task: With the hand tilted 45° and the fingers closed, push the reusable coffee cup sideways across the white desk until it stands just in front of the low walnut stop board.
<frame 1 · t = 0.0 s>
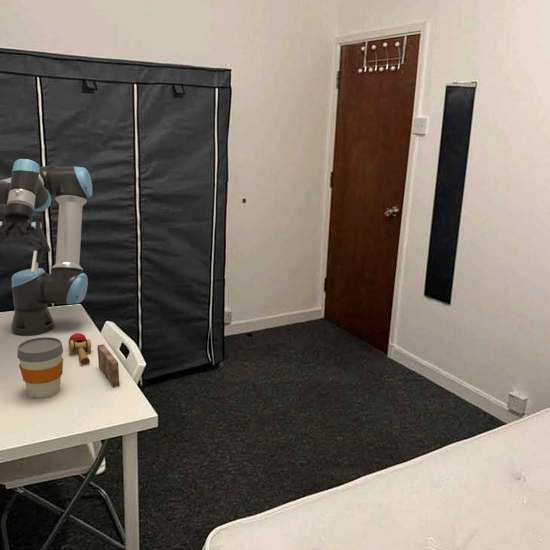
hand: (9, 273, 159), 36 cm above the table, tool tilted 35°, fingers open, 13 cm apart
stop board: (108, 376, 176), on the table
kendama: (81, 356, 191), on the table
reusable coffee cup: (44, 391, 166), on the table
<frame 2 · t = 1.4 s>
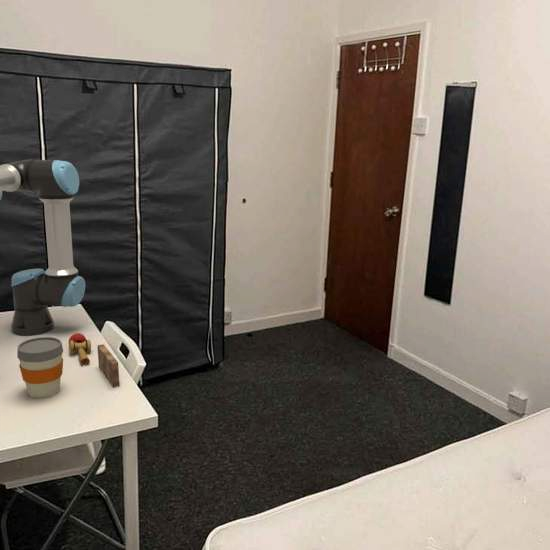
nothing on the table moved.
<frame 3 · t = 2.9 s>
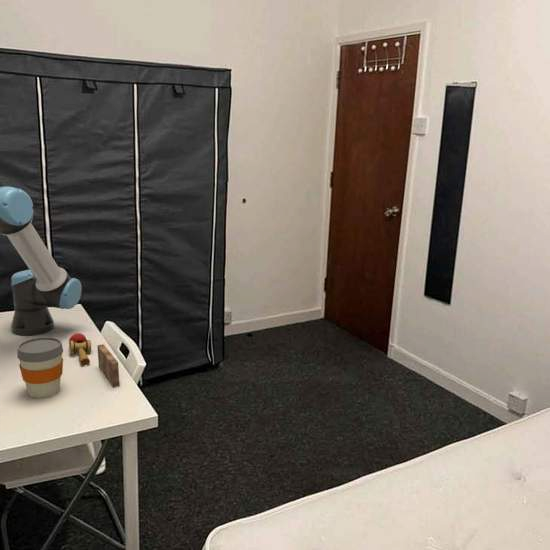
nothing on the table moved.
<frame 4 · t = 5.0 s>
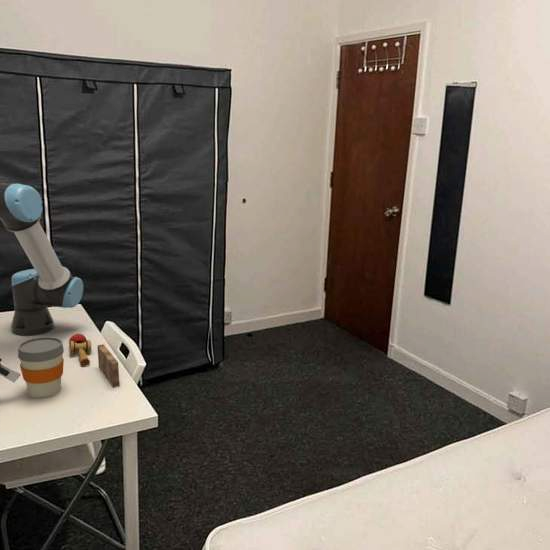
hand: (16, 378, 160), 6 cm above the table, tool tilted 45°, fingers closed
reusable coffee cup: (44, 391, 166), on the table, touching gripper
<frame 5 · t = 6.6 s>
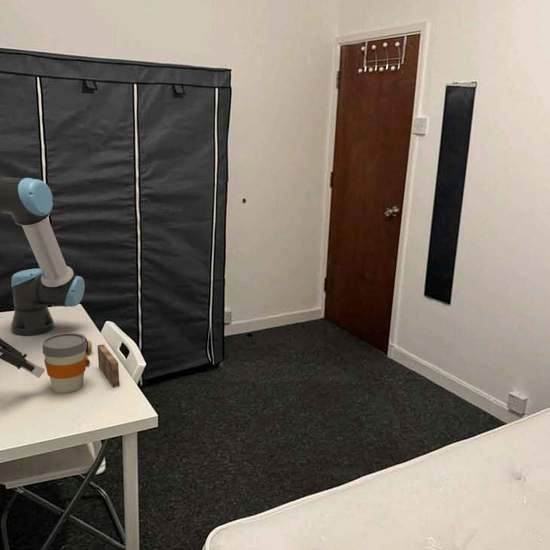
hand: (41, 373, 164), 6 cm above the table, tool tilted 45°, fingers closed
reusable coffee cup: (68, 386, 169), on the table, touching gripper
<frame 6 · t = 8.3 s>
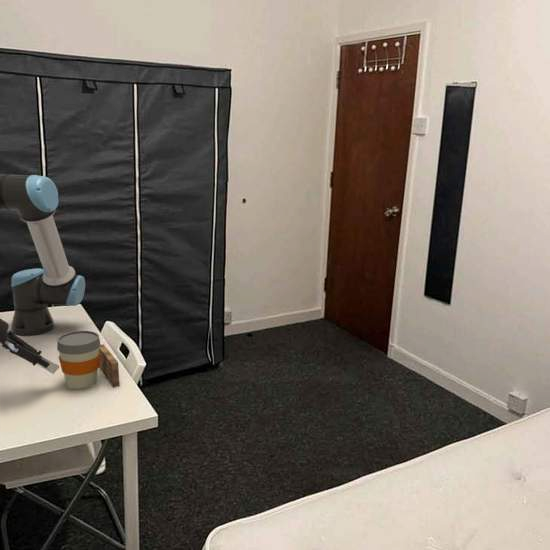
hand: (55, 369, 166), 6 cm above the table, tool tilted 45°, fingers closed
reusable coffee cup: (81, 383, 172), on the table, touching gripper
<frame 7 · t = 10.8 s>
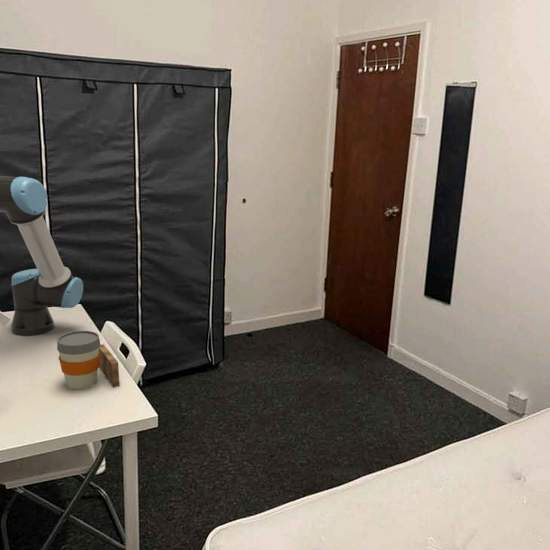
hand: (7, 322, 155), 24 cm above the table, tool tilted 45°, fingers closed
reusable coffee cup: (81, 383, 172), on the table
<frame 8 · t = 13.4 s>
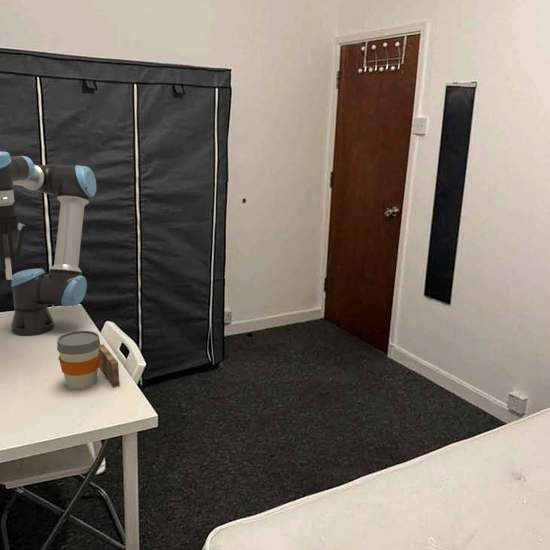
hand: (9, 278, 172), 30 cm above the table, tool pointing down, fingers closed
at the end: reusable coffee cup inside the target area (1.0 cm from its centre), on the table; reusable coffee cup tilted 0°; reusable coffee cup moved 11.0 cm from its start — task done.
